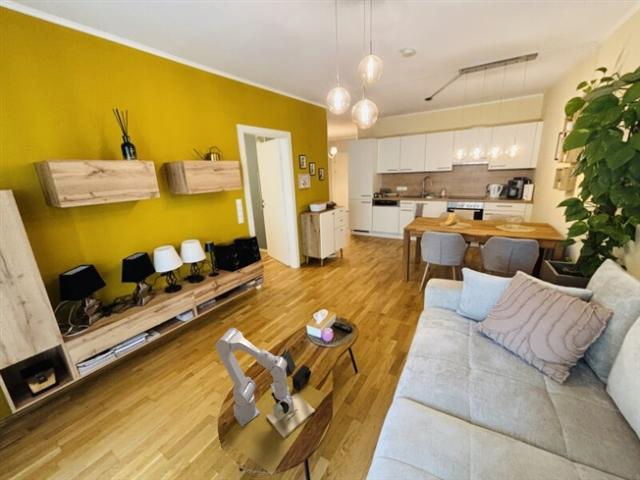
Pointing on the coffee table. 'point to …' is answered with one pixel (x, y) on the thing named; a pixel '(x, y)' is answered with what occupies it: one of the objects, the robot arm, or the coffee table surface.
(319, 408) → the coffee table surface
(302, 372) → the digital camera
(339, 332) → the coffee table surface
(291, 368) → the phone stand
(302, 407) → the birch board
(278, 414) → the block
